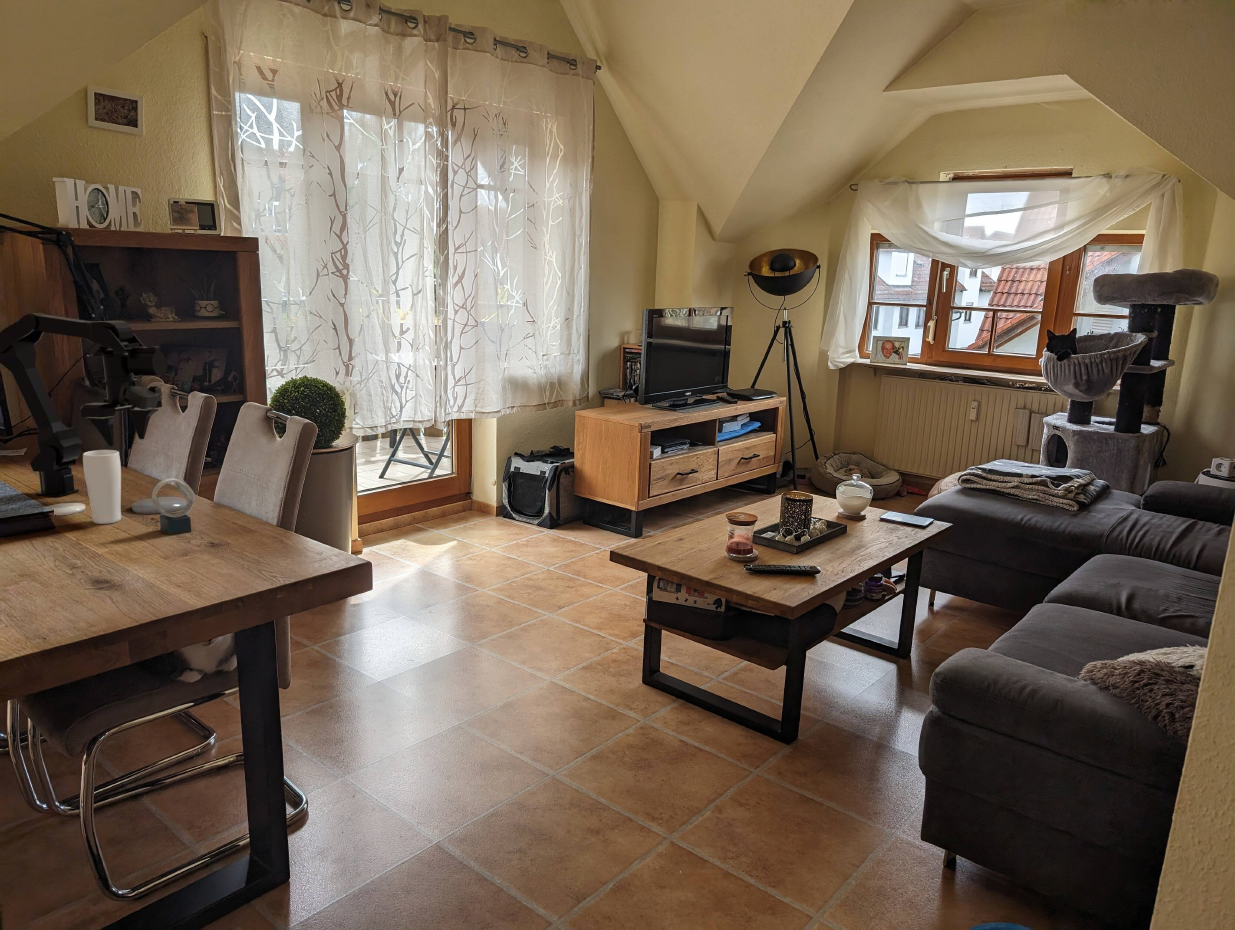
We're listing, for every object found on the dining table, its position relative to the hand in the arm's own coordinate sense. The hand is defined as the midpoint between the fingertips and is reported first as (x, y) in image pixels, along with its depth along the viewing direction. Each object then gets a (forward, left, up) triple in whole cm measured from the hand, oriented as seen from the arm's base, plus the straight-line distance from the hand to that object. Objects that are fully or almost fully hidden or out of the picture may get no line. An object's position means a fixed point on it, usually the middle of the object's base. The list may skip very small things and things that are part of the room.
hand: (126, 442), depth 203 cm
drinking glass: (+11, -19, -13) cm, 26 cm away
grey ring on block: (+29, -20, -13) cm, 38 cm away
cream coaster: (-4, -15, -13) cm, 20 cm away
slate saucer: (+13, -6, -13) cm, 19 cm away
